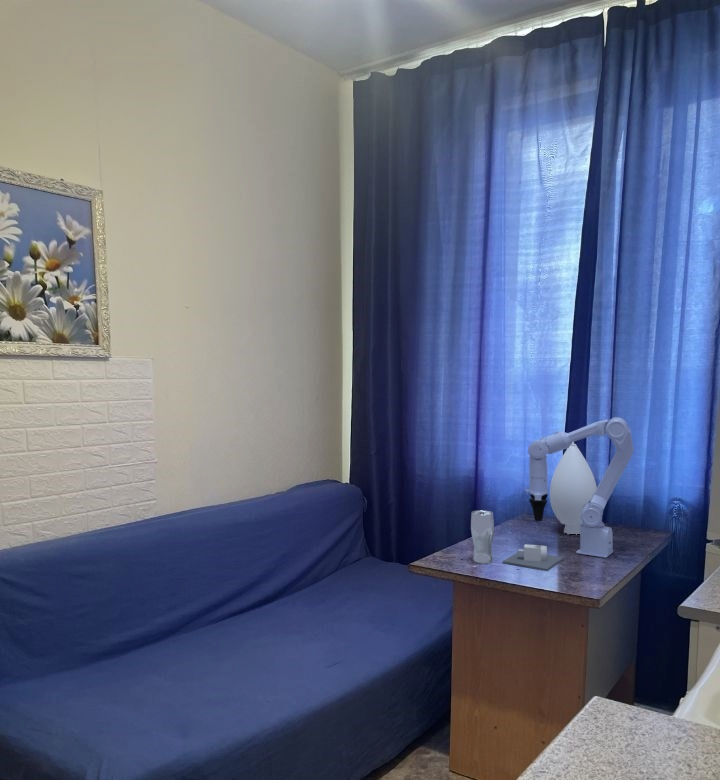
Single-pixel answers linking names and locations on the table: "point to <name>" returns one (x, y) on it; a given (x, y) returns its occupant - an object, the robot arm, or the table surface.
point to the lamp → (571, 489)
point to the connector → (534, 552)
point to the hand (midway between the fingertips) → (538, 518)
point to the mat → (533, 562)
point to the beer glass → (482, 535)
